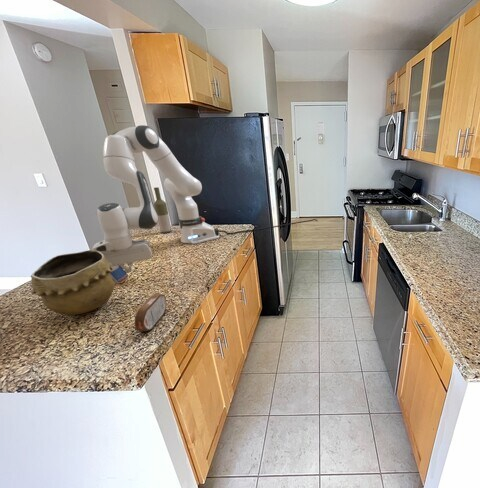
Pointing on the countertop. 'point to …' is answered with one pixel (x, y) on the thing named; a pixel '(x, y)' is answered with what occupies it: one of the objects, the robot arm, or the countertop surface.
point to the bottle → (162, 213)
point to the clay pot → (74, 282)
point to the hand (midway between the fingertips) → (128, 271)
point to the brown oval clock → (150, 312)
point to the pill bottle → (118, 274)
